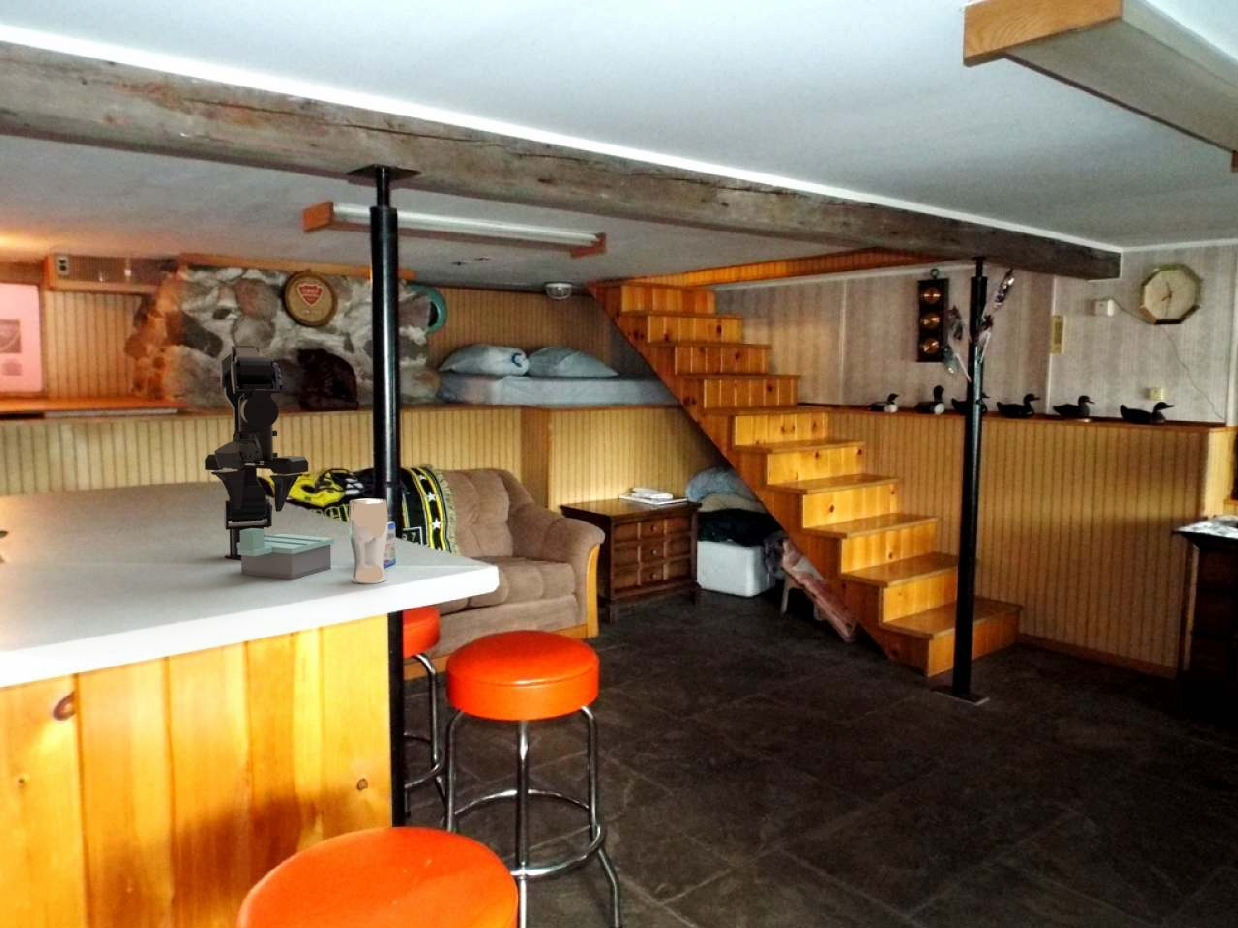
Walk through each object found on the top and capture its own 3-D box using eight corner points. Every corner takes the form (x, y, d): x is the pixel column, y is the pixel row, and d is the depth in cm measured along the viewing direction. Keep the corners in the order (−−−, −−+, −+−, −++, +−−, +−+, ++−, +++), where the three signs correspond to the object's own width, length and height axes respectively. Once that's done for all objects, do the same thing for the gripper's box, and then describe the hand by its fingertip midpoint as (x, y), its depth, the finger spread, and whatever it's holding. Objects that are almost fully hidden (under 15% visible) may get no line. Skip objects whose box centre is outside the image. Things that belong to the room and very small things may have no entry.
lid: (218, 552, 170) (217, 528, 170) (280, 538, 186) (280, 516, 185) (274, 558, 166) (274, 533, 165) (334, 543, 181) (333, 520, 181)
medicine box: (378, 571, 180) (378, 527, 179) (357, 570, 181) (357, 526, 180) (396, 563, 187) (396, 521, 187) (376, 562, 188) (375, 520, 188)
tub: (241, 573, 175) (240, 548, 175) (281, 563, 186) (281, 538, 185) (292, 579, 171) (291, 553, 171) (330, 568, 181) (330, 543, 181)
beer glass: (353, 576, 175) (352, 498, 173) (391, 576, 175) (390, 498, 174) (346, 584, 168) (345, 503, 167) (384, 584, 169) (384, 503, 167)
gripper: (180, 425, 163) (183, 513, 165) (268, 429, 157) (270, 519, 159) (225, 423, 174) (227, 505, 175) (309, 426, 168) (311, 510, 169)
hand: (257, 510), depth 169 cm, fingers open, 9 cm apart
